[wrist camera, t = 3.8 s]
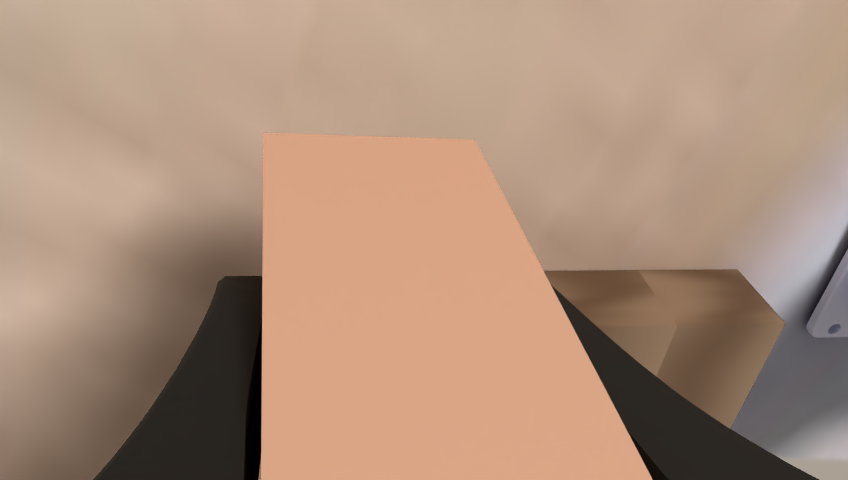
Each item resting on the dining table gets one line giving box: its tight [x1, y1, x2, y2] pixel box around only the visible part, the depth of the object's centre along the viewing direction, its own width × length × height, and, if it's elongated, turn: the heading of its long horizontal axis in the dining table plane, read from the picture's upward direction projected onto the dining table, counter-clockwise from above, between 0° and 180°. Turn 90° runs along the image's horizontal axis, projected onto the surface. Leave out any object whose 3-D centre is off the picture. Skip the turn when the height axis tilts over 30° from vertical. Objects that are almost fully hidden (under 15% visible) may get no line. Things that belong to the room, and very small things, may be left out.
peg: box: [261, 133, 653, 480], centre depth 11 cm, size 4×4×8 cm
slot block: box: [544, 270, 785, 429], centre depth 27 cm, size 14×14×3 cm
